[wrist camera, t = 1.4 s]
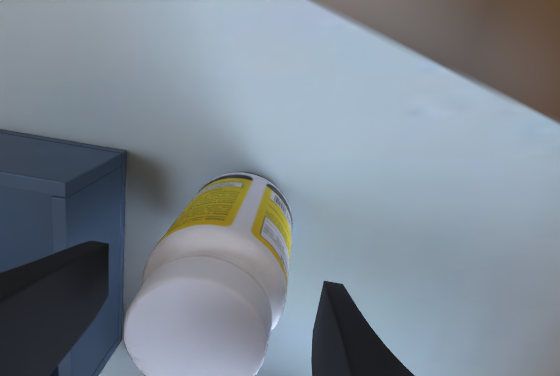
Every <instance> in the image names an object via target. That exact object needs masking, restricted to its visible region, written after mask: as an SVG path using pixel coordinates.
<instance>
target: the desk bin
mask: <svg viewBox="0 0 560 376" xmlns="http://www.w3.org/2000/svg"><path fill="white" fill-rule="evenodd" d="M125 184H126V151H124V150H118V149H112V148H106V147H100V146H95V145H89V144H83V143H77V142H71V141H65V140H59V139H53V138H47V137H41V136H35V135H29V134H24V133H18V132H12V131H6V130H0V273H1V272H4V271H7V270H10V269H13V268H16V267H19V266H22V265H25V264H28V263H30V262H33V261H36V260H38V259H41V258H44V257H46V256H49V255H51V254H54V253H57V252H59V251H62V250H64V249H67V248H70V247H72V246H75V245H78V244H81V243H84V242H87V241H91V240H92V241H97V242H103V243H109V296H108V298H107V299H106V301H105V303H104V305H103V306H102V308H101V310H100V311H99V313H98V315H97V316H96V318H95V319H94V321H93V322H92V324H91V325H90V326H89V328H88V329H87V330H86V331H85V333H84V334H83V335H82V336H81V338H80V339H79V340H78V341H77V343H76V344H75V345H74V346H73V347H72V349H71V350H70V351H69V352H68V354H67V355H66V356H65V357H64V359H63V360H62V361H61V362H60V363H59V365H58V366H57V367H56V368H55V370H54V371H53V372H52V373H51V375H50V376H98V375H99V374H100V372H101V371H102V369H103V368H104V366H105V365H106V363H107V362H108V360H109V359H110V357H111V356H112V354H113V353H114V351H115V350H116V348H117V347H118V345H119V344H120V342H121V341H122V314H123V271H124V227H125Z"/></svg>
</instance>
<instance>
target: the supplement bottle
mask: <svg viewBox="0 0 560 376" xmlns="http://www.w3.org/2000/svg"><path fill="white" fill-rule="evenodd" d="M291 236H292V214H291V210H290V206H289V204H288V202H287V200H286V198H285V196H284V195H283V194H282V192H281V191H280V190H279V189H278V188H277V187H276V186H275V185H274V184H272V183H271V182H270V181H268V180H266V179H264V178H262V177H260V176H257V175H253V174H249V173H243V172H233V173H227V174H223V175H220V176H218V177H216V178H214V179H212V180H210V181H209V182H208V183H206V184H205V185H204V186H203V187H202V188H201V189H200V190H199V192H198V193H197V194H196V196H195V197H194V198H193V199H192V201H191V202H190V203H189V204H188V206H187V207H186V208H185V210H184V211H183V212H182V213H181V215H180V216H179V217H178V219H177V220H176V221H175V222H174V224H173V225H172V226H171V227H170V229H169V230H168V231H167V233H166V234H165V235H164V236H163V238H162V239H161V240H160V241H159V243H158V244H157V245H156V247H155V248H154V249H153V251H152V252H151V254H150V256H149V258H148V260H147V263H146V265H145V268H144V272H143V278H142V287H141V289H140V290H139V292H138V293H137V295H136V296H135V298H134V299H133V301H132V302H131V304H130V306H129V308H128V310H127V313H126V316H125V319H124V327H123V334H124V342H125V345H126V348H127V351H128V353H129V355H130V357H131V359H132V360H133V362H134V363H135V365H136V366H137V368H138V369H139V370H140V371H141V372H142V373H143V374H144V375H145V376H255V375H256V374H257V372H258V371H259V369H260V368H261V366H262V364H263V362H264V359H265V355H266V351H267V346H268V340H269V336H270V332H271V331H272V330H273V329H274V327H275V326H276V324H277V323H278V321H279V319H280V317H281V314H282V312H283V309H284V305H285V301H286V294H287V283H288V272H289V261H290V249H291Z"/></svg>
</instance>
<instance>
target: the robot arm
mask: <svg viewBox="0 0 560 376" xmlns="http://www.w3.org/2000/svg"><path fill="white" fill-rule="evenodd" d="M108 296H109V243H103V242H97V241H92V240H91V241H87V242H84V243H81V244H78V245H75V246H72V247H70V248H67V249H64V250H62V251H59V252H57V253H54V254H51V255H49V256H46V257H44V258H41V259H38V260H36V261H33V262H30V263H28V264H25V265H22V266H19V267H16V268H13V269H10V270H7V271H4V272H1V273H0V376H50V375H51V373H52V372H53V371H54V370H55V368H56V367H57V366H58V365H59V363H60V362H61V361H62V360H63V359H64V357H65V356H66V355H67V354H68V352H69V351H70V350H71V349H72V347H73V346H74V345H75V344H76V343H77V341H78V340H79V339H80V338H81V336H82V335H83V334H84V333H85V331H86V330H87V329H88V328H89V326H90V325H91V324H92V322H93V321H94V319H95V318H96V316H97V315H98V313H99V311H100V310H101V308H102V306H103V305H104V303H105V301H106V299H107V298H108ZM311 361H312V376H414V375H413V374H412V373H411V372H410V371H409V370H408V369H407V368H406V367H405V366H404V365H403V364H402V363H401V362H400V361H399V360H398V359H397V358H396V357H395V356H394V355H393V353H392V352H391V351H390V350H389V349H388V348H387V347H386V346H385V344H384V343H383V342H382V341H381V339H380V338H379V337H378V336H377V334H376V333H375V332H374V331H373V329H372V328H371V327H370V325H369V324H368V322H367V321H366V319H365V318H364V317H363V315H362V314H361V312H360V311H359V309H358V308H357V306H356V304H355V303H354V301H353V300H352V298H351V296H350V295H349V293H348V292H347V290H346V288H345V287H344V285H343V284H339V283H333V282H328V281H324V284H323V288H322V293H321V297H320V302H319V306H318V311H317V315H316V320H315V324H314V329H313V339H312V360H311Z"/></svg>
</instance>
